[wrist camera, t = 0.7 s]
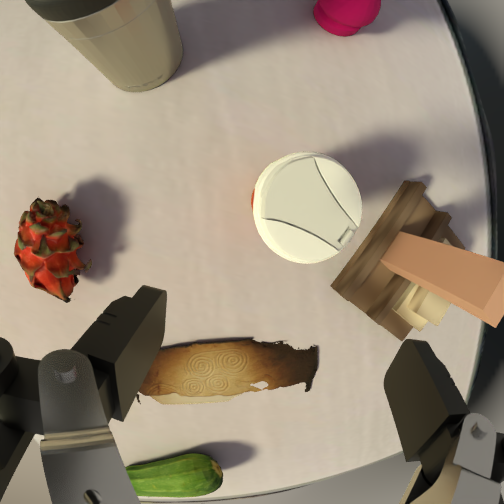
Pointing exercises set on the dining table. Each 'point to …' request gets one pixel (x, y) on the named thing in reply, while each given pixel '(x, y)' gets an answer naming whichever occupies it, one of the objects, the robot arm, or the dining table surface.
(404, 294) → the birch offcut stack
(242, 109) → the dining table surface
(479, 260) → the terracotta block
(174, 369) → the parchment
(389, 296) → the walnut rack
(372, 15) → the pepper mill
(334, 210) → the paper cup
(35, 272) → the dragon fruit
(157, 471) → the vegetable
